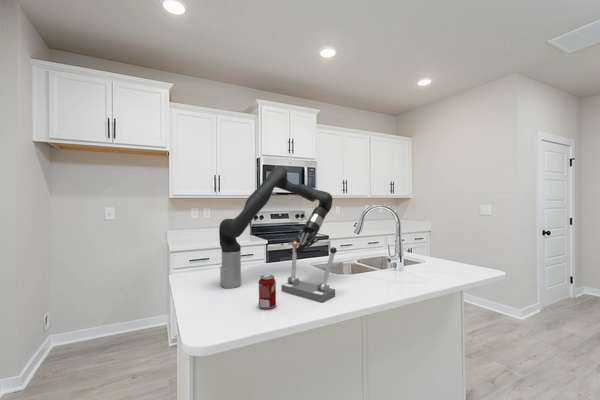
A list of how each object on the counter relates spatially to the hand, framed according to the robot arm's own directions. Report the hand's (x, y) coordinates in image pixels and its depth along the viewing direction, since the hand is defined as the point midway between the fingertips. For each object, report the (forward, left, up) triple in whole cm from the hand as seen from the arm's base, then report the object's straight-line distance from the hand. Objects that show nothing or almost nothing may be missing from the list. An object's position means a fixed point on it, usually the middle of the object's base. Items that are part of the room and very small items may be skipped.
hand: (298, 252), depth 133 cm
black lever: (+1, -16, -14) cm, 21 cm away
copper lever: (-3, +1, -14) cm, 14 cm away
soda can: (-22, -10, -18) cm, 30 cm away
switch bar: (0, -8, -17) cm, 19 cm away
